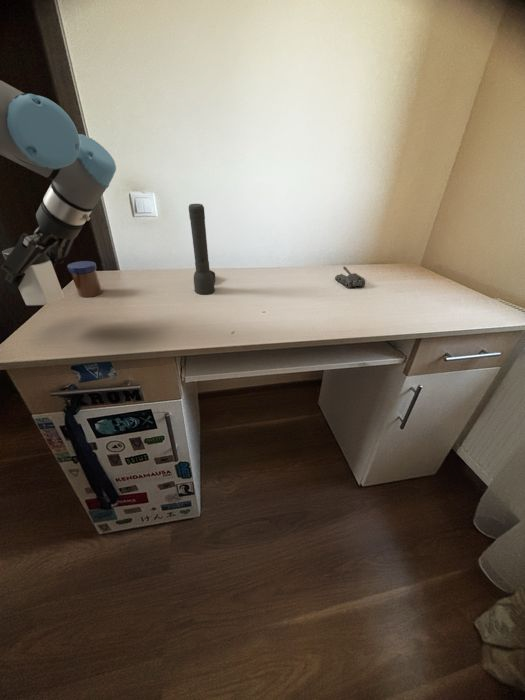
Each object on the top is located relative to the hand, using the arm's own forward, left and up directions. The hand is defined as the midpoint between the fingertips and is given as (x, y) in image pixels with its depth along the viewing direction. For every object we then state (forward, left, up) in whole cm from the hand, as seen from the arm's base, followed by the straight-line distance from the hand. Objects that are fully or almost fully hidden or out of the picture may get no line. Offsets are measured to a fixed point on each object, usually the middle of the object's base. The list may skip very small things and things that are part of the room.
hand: (25, 281), depth 68 cm
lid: (+14, +21, -4) cm, 26 cm away
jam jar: (+14, +21, -13) cm, 29 cm away
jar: (+2, -2, -4) cm, 5 cm away
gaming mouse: (+53, +11, -14) cm, 56 cm away
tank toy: (+101, -20, -14) cm, 104 cm away
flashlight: (+48, +3, -13) cm, 50 cm away
